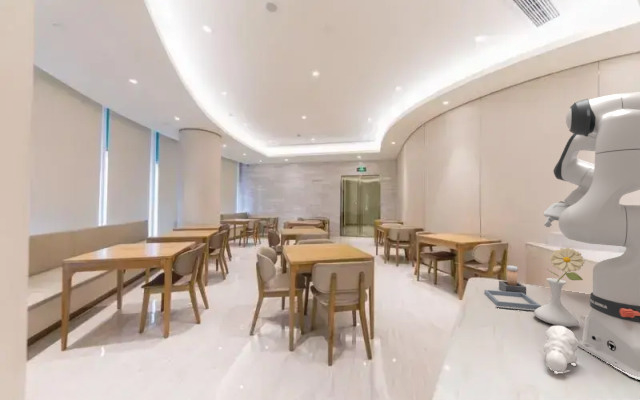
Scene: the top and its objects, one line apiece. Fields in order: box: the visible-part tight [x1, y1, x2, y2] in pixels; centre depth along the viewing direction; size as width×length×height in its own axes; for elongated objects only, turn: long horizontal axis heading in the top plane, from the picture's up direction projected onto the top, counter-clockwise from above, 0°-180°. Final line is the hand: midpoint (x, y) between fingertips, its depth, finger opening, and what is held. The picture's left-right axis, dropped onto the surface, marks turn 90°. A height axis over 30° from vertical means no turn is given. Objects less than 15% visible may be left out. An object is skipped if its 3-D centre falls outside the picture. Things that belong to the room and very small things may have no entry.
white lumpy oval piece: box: [542, 325, 579, 373], centre depth 67 cm, size 6×8×12 cm
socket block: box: [498, 280, 527, 295], centre depth 118 cm, size 7×7×4 cm
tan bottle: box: [506, 264, 519, 286], centre depth 118 cm, size 4×4×11 cm
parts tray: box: [484, 289, 542, 313], centre depth 108 cm, size 14×14×2 cm
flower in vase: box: [533, 247, 586, 328], centre depth 91 cm, size 13×11×25 cm
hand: (555, 228), depth 116 cm, fingers open, 8 cm apart
